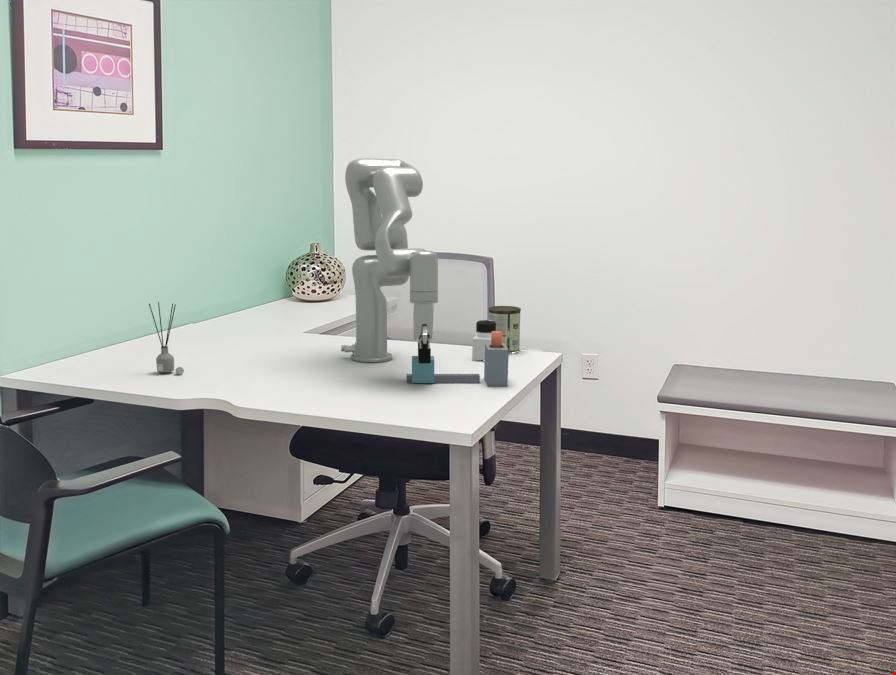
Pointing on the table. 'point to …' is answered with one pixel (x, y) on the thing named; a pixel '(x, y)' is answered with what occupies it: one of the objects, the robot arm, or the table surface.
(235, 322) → the table surface
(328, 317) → the table surface
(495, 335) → the plunger
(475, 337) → the medicine bottle
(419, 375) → the block
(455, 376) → the rail
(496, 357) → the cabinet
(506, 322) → the coffee can
